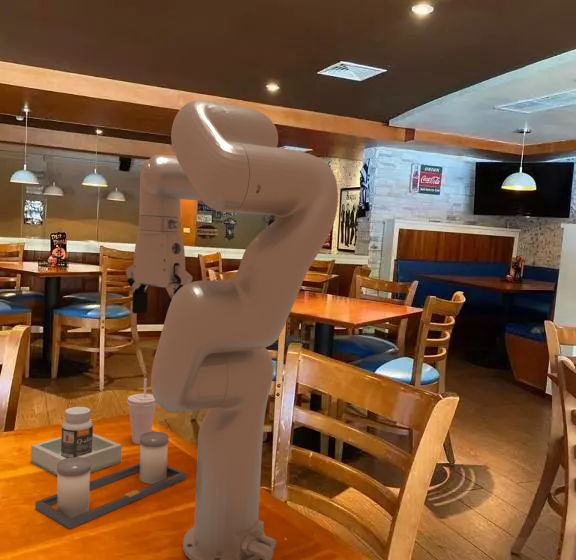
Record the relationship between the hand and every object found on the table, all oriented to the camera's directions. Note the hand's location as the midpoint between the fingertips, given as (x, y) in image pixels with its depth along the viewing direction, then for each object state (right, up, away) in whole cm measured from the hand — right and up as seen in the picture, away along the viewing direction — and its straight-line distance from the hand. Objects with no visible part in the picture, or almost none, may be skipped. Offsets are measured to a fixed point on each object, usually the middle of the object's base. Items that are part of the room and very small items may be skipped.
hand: (156, 315), depth 113 cm
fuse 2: (0, -30, -2) cm, 30 cm away
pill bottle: (-16, -29, +3) cm, 33 cm away
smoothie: (-7, -28, +16) cm, 33 cm away
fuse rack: (-5, -31, -9) cm, 32 cm away
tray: (-16, -29, +3) cm, 33 cm away
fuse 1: (-10, -31, -16) cm, 36 cm away
